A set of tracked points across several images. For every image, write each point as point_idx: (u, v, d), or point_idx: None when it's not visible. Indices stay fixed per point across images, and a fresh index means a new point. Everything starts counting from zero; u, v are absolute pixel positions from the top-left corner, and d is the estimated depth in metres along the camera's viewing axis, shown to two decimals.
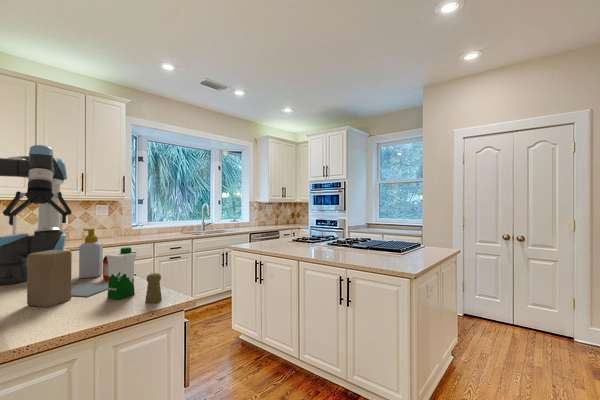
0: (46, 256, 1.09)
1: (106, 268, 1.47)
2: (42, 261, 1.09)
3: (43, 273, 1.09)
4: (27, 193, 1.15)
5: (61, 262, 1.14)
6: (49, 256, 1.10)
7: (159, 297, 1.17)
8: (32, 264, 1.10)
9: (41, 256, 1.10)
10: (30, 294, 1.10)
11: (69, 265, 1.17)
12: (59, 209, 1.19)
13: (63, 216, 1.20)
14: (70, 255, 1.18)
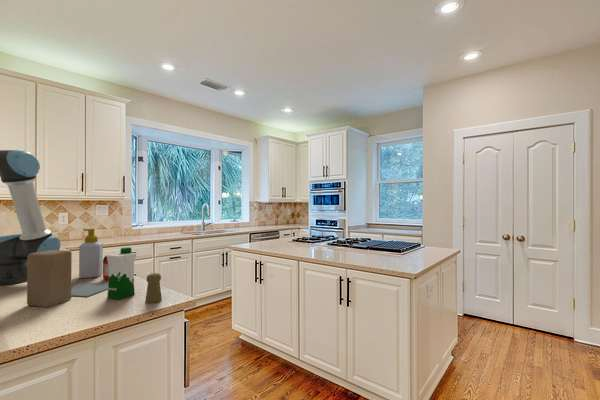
0: (46, 256, 1.09)
1: (106, 268, 1.47)
2: (42, 261, 1.09)
3: (43, 273, 1.09)
4: None
5: (61, 262, 1.14)
6: (49, 256, 1.10)
7: (159, 297, 1.17)
8: (32, 264, 1.10)
9: (41, 256, 1.10)
10: (30, 294, 1.10)
11: (69, 265, 1.17)
12: None
13: None
14: (70, 255, 1.18)
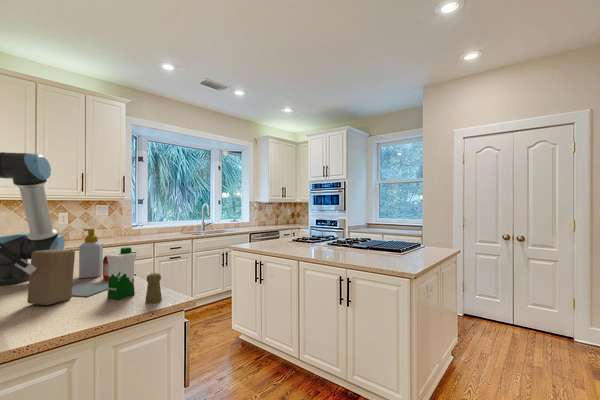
0: (50, 253, 1.11)
1: (106, 268, 1.47)
2: (45, 258, 1.11)
3: (46, 271, 1.10)
4: None
5: (64, 260, 1.15)
6: (53, 254, 1.11)
7: (159, 297, 1.17)
8: (36, 261, 1.12)
9: (45, 253, 1.11)
10: (31, 292, 1.11)
11: (72, 264, 1.18)
12: (7, 259, 1.03)
13: (17, 263, 1.05)
14: (73, 254, 1.19)
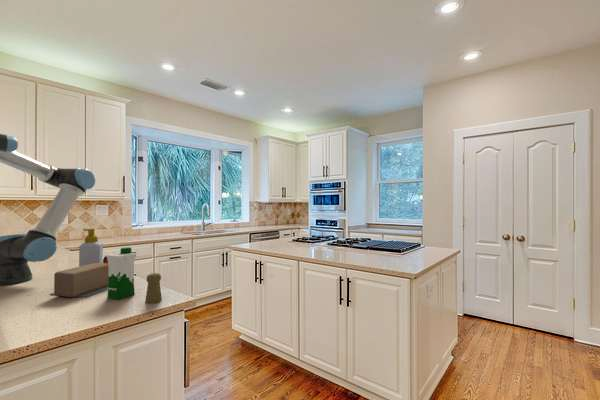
0: None
1: None
2: (104, 264, 1.36)
3: (97, 266, 1.32)
4: None
5: (106, 276, 1.35)
6: None
7: (159, 297, 1.17)
8: (94, 264, 1.36)
9: None
10: (68, 269, 1.25)
11: (102, 284, 1.33)
12: None
13: None
14: None
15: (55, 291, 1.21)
